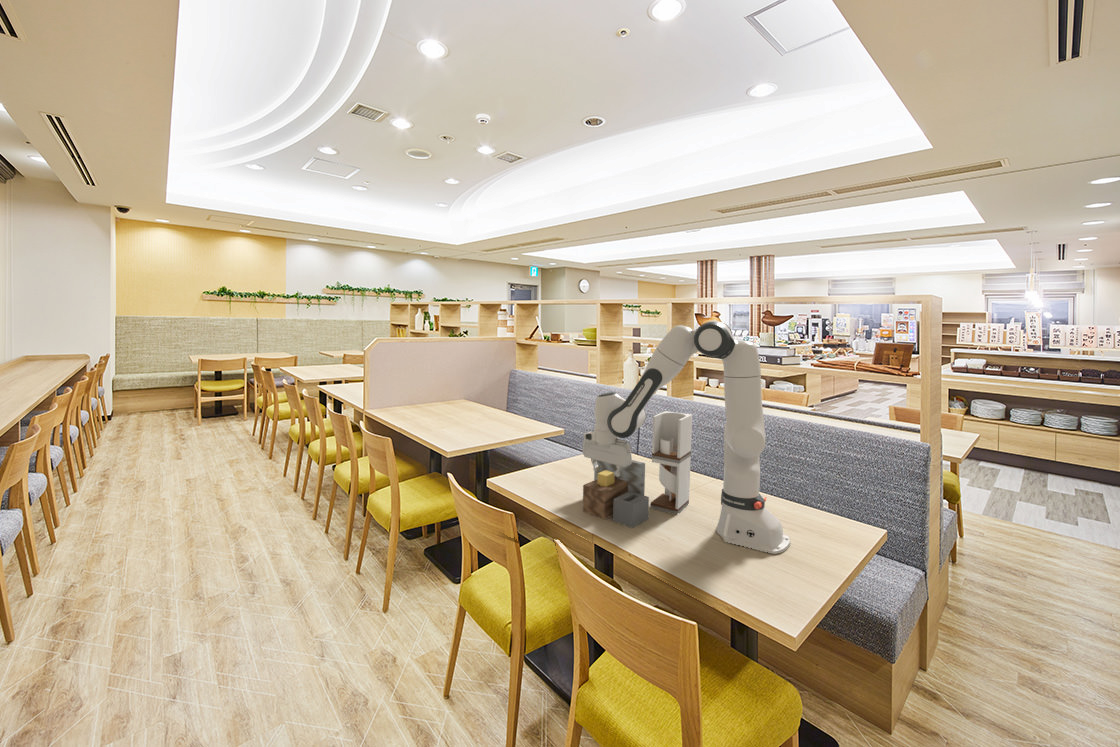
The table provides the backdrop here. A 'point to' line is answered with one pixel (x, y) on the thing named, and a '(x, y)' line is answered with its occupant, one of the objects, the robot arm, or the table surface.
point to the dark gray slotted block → (630, 509)
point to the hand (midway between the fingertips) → (606, 473)
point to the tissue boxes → (612, 488)
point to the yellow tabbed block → (605, 478)
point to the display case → (672, 459)
